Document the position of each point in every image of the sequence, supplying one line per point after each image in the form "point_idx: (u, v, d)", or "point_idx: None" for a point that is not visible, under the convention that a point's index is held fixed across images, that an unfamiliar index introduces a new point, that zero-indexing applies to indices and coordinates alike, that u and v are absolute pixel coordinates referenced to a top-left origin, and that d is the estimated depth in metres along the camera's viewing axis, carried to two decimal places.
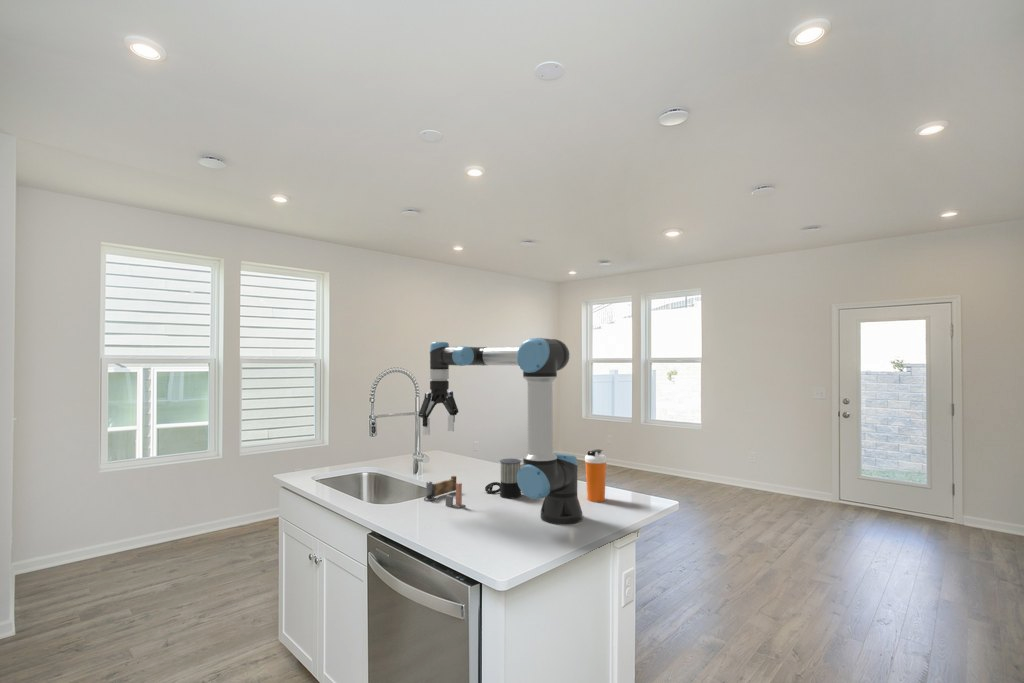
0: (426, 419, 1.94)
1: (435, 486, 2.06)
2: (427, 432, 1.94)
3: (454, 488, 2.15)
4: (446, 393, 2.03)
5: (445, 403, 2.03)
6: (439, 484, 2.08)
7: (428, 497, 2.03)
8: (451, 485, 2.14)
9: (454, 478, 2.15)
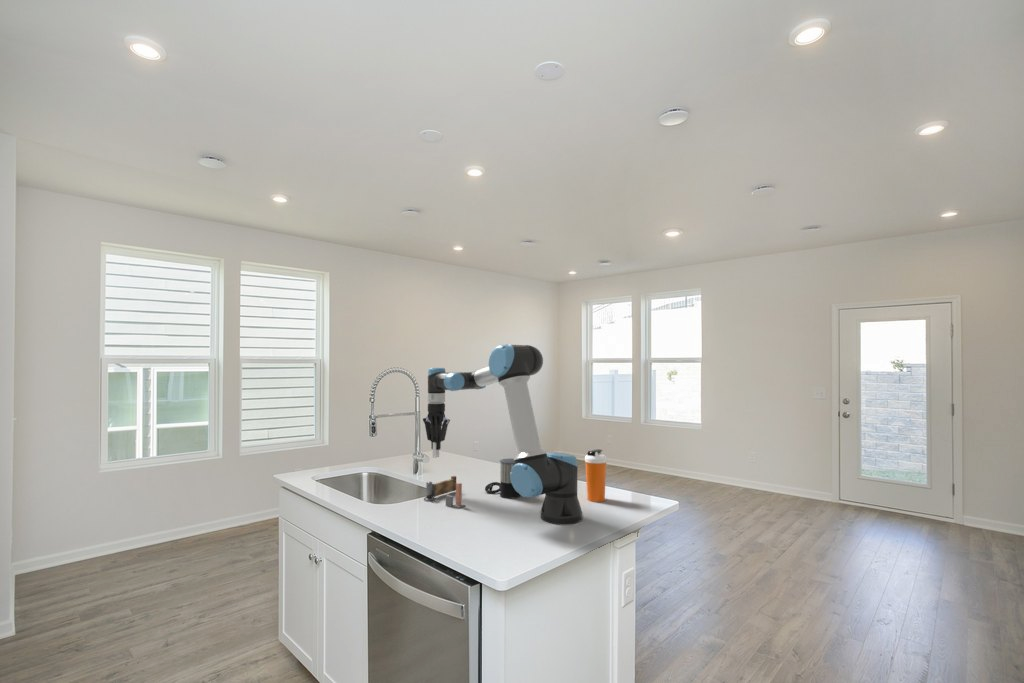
0: None
1: (435, 486, 2.06)
2: (438, 454, 2.17)
3: (454, 488, 2.15)
4: None
5: None
6: (439, 484, 2.08)
7: (428, 497, 2.03)
8: (451, 485, 2.14)
9: (454, 478, 2.15)
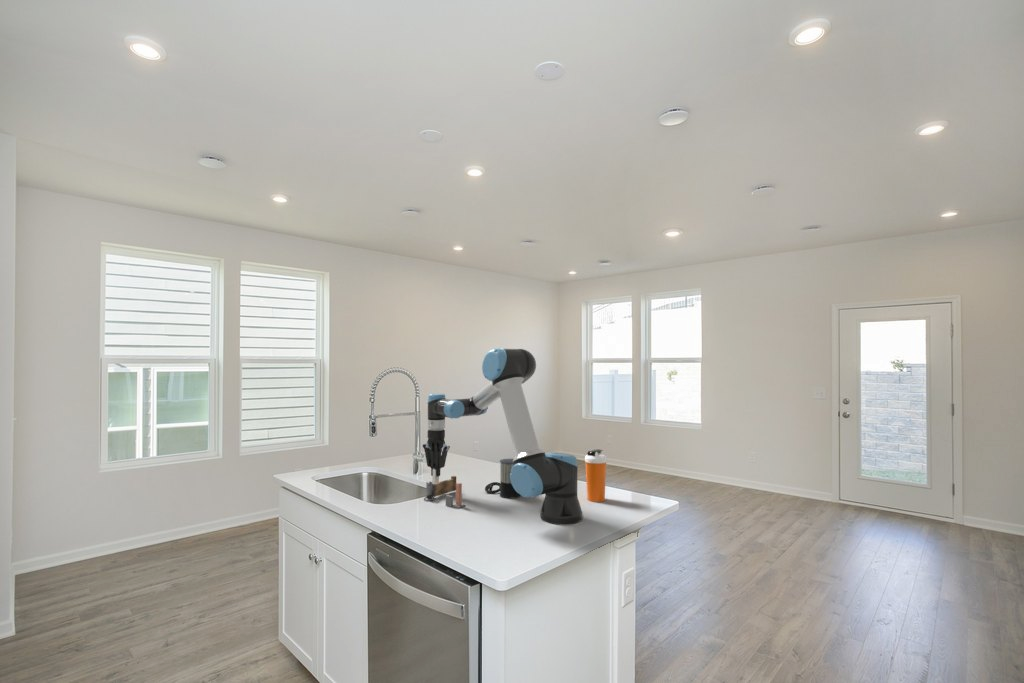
0: None
1: (435, 486, 2.06)
2: (438, 481, 2.16)
3: (454, 488, 2.15)
4: None
5: None
6: (439, 484, 2.08)
7: (428, 497, 2.03)
8: (451, 485, 2.14)
9: (454, 478, 2.15)
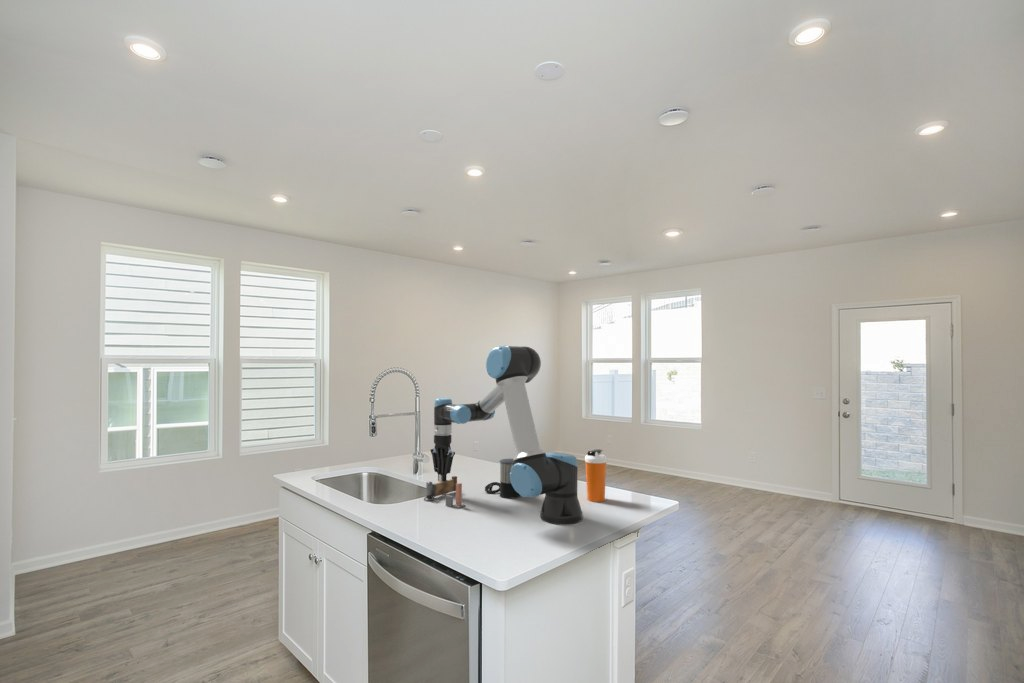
0: None
1: (435, 486, 2.06)
2: None
3: (454, 488, 2.15)
4: None
5: None
6: (439, 484, 2.08)
7: (428, 497, 2.03)
8: (452, 485, 2.13)
9: (455, 478, 2.15)
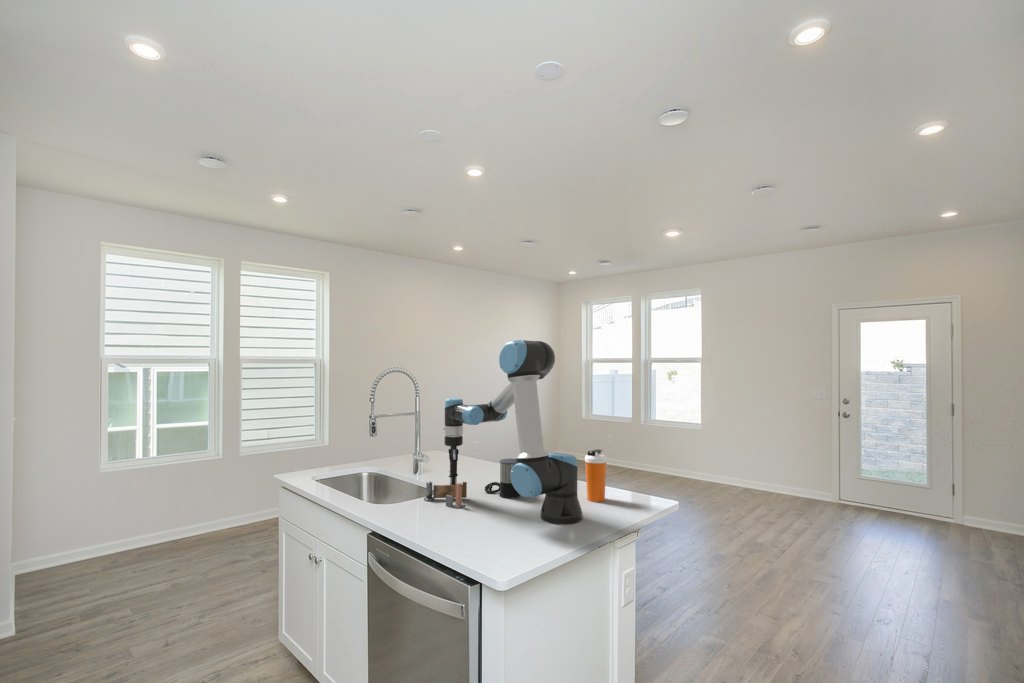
0: (455, 478, 2.06)
1: (435, 487, 2.04)
2: None
3: (463, 495, 2.04)
4: None
5: None
6: (441, 486, 2.04)
7: (428, 497, 2.03)
8: None
9: (463, 484, 2.04)
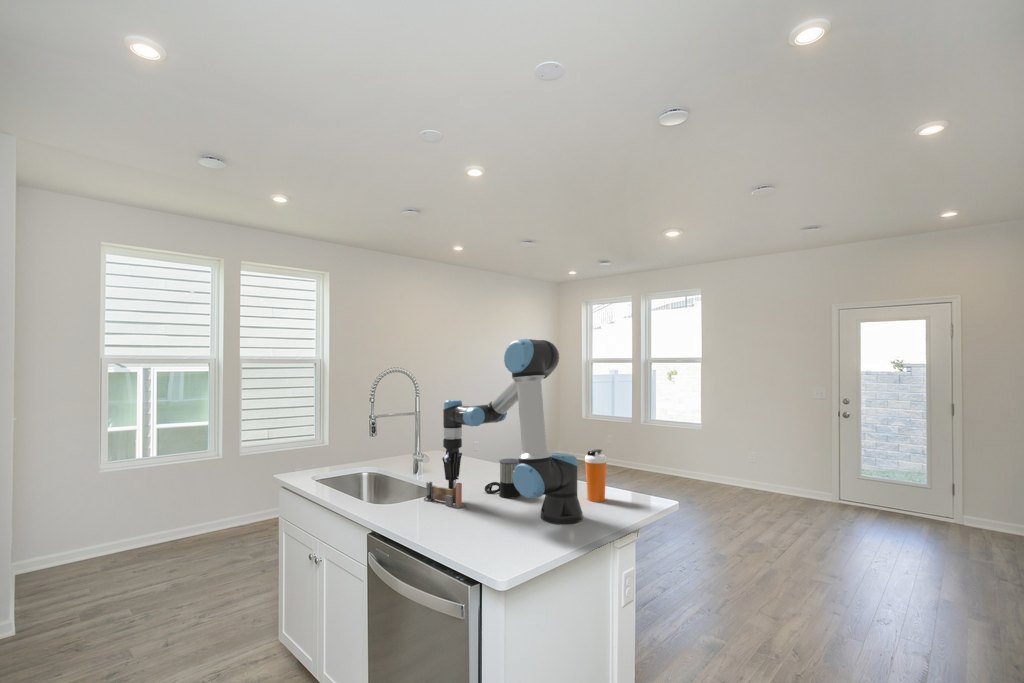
0: (452, 481, 2.01)
1: (432, 488, 2.02)
2: None
3: (453, 500, 1.96)
4: (458, 450, 2.05)
5: None
6: (437, 488, 2.01)
7: (428, 497, 2.03)
8: None
9: (454, 490, 1.96)
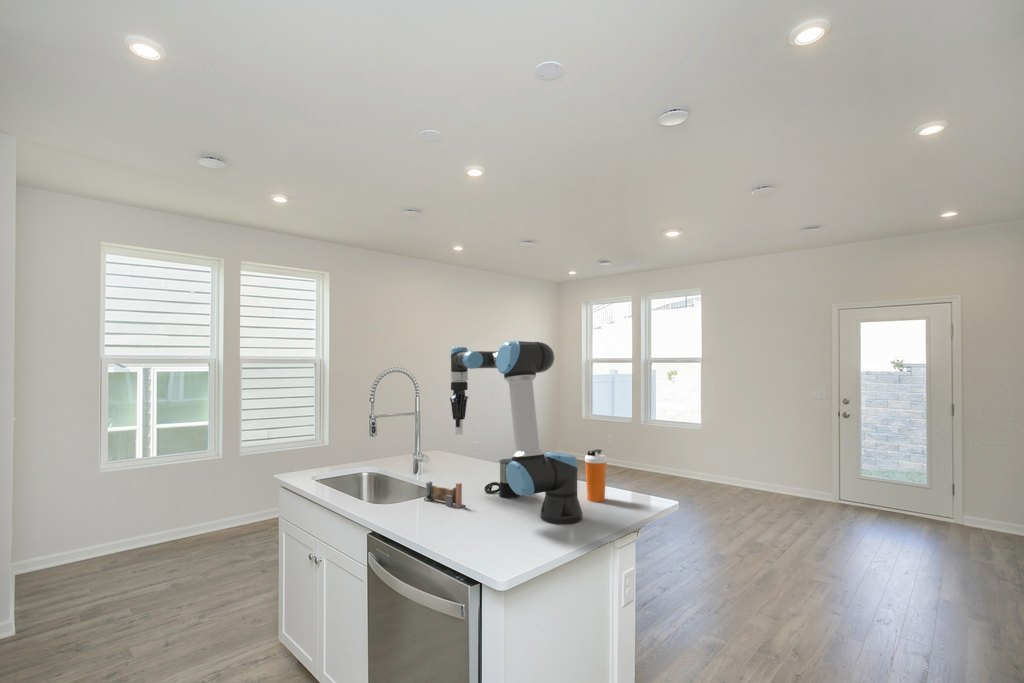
0: (459, 420, 2.21)
1: (432, 488, 2.02)
2: (459, 432, 2.21)
3: (453, 500, 1.96)
4: (464, 393, 2.25)
5: (460, 404, 2.23)
6: (437, 488, 2.01)
7: (428, 497, 2.03)
8: None
9: (454, 490, 1.96)
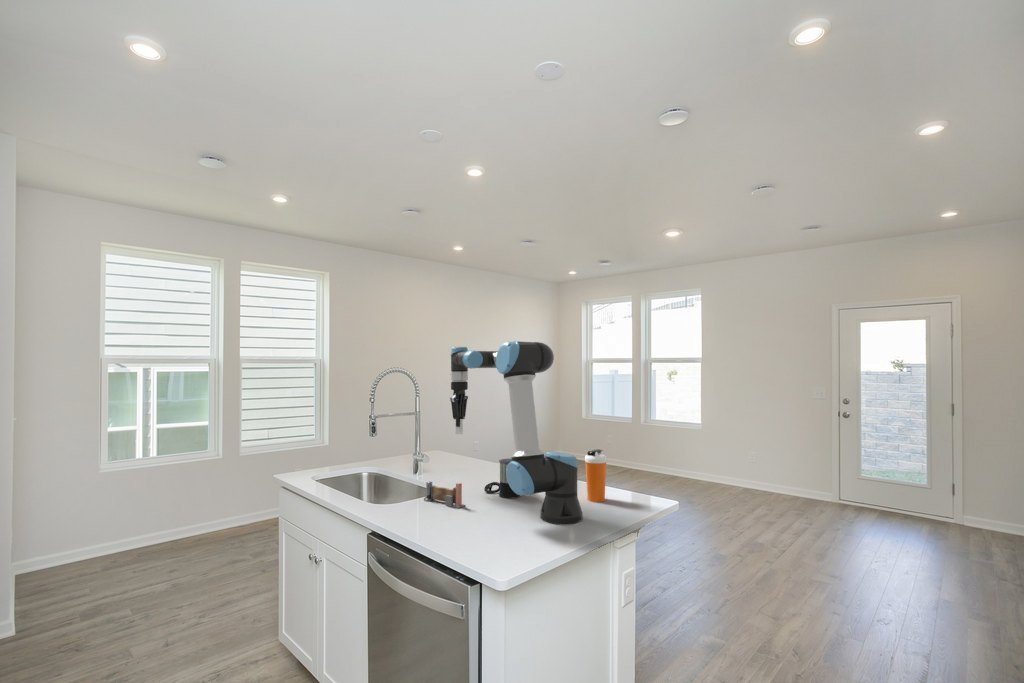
0: (459, 420, 2.21)
1: (432, 488, 2.02)
2: (460, 431, 2.21)
3: (453, 500, 1.96)
4: (464, 393, 2.26)
5: (460, 403, 2.23)
6: (437, 488, 2.01)
7: (428, 497, 2.03)
8: None
9: (454, 490, 1.96)
